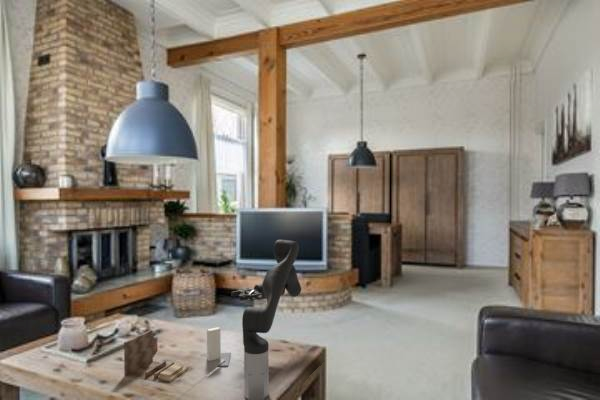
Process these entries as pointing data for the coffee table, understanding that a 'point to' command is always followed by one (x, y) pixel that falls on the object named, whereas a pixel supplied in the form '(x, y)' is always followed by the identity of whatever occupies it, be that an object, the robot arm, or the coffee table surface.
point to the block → (213, 344)
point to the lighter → (155, 342)
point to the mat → (223, 356)
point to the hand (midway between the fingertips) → (235, 296)
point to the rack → (149, 362)
